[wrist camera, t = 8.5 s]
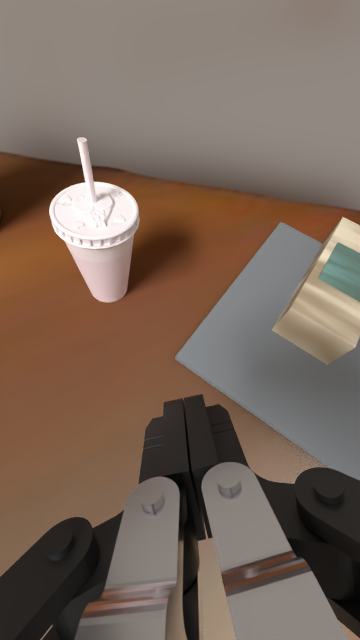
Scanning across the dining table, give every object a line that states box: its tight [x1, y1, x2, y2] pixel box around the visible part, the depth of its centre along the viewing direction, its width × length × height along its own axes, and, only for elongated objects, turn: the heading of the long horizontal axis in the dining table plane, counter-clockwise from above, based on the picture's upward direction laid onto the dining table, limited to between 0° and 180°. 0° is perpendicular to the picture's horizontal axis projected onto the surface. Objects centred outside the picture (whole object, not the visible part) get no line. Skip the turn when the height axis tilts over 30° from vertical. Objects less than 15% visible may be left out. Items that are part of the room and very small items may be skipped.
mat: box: [175, 222, 360, 480], centre depth 28 cm, size 24×18×1 cm
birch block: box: [272, 217, 360, 365], centre depth 28 cm, size 4×6×16 cm
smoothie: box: [49, 137, 140, 302], centre depth 22 cm, size 6×6×14 cm
